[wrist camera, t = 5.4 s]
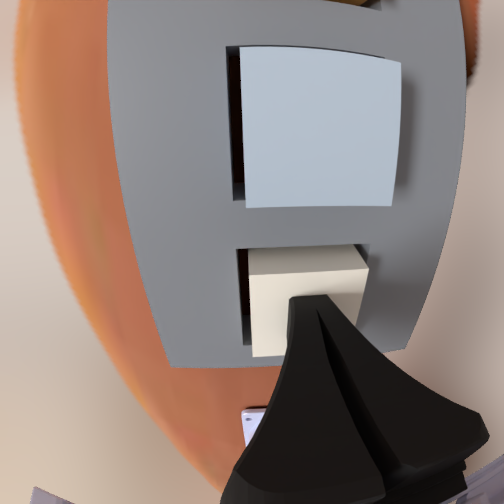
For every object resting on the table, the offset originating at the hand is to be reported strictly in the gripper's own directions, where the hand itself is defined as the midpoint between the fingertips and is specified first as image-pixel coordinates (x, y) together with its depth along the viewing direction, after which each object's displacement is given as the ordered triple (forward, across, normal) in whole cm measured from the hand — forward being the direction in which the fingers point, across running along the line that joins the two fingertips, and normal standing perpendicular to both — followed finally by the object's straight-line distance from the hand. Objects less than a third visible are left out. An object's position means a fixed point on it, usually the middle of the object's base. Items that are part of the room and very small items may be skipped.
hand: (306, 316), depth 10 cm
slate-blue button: (+2, 0, -6) cm, 7 cm away
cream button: (+2, 0, 0) cm, 2 cm away
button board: (+3, 0, -6) cm, 7 cm away
